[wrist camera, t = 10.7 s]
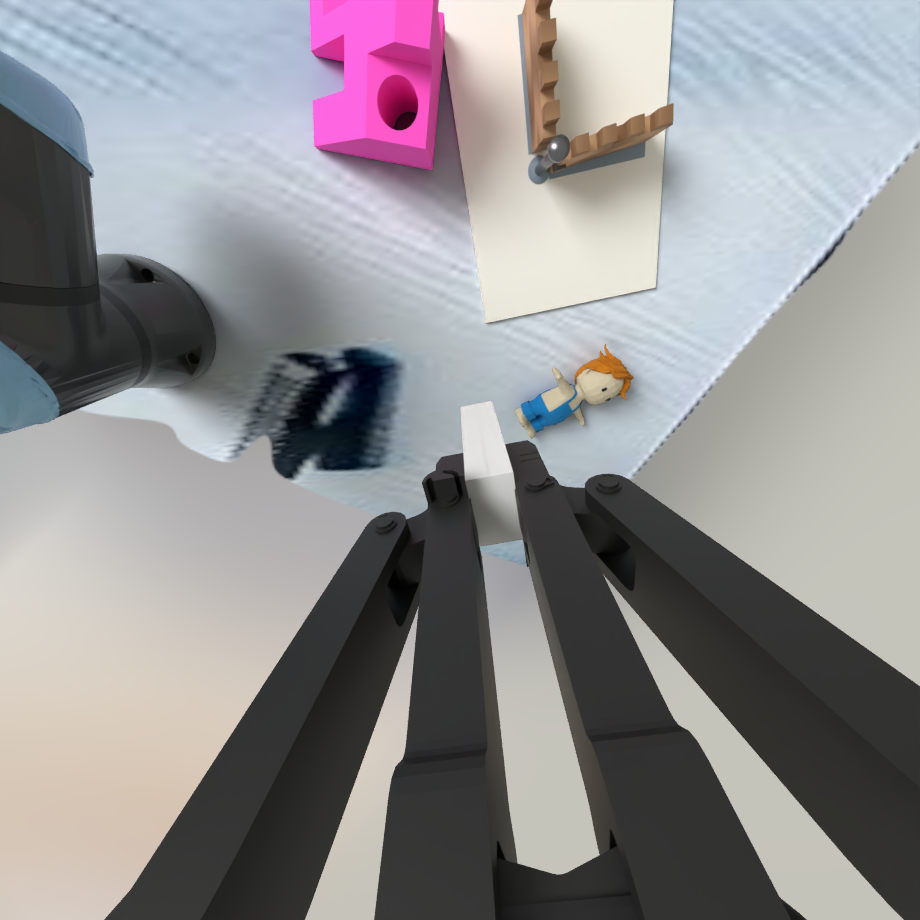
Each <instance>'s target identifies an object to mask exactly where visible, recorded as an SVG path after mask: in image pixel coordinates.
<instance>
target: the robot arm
mask: <svg viewBox="0 0 920 920" xmlns="http://www.w3.org/2000/svg"><path fill="white" fill-rule="evenodd" d="M90 177H91V178H92V177H94V171H93V169H92V167H91V165H90V163H89V160H88V153H87V145H86V138H85V131H84V125H83V121H82V119H81V116H80V114H79V112H78V111H77V109H76V108H75V106H74V105H73V104H72V102H71V101H70V100H69V98H68V97H67V96H66V95H65V94H63V93H62V91H60V90H59V89H58V88H57V87H56V86H55V85H53V84H52V83H51V82H49V81H48V80H47V79H45V78H44V77H42V76H41V75H39V74H38V73H36V72H35V71H33V70H32V69H30V68H28V67H27V66H25V65H23V64H22V63H20V62H19V61H17V60H15V59H14V58H12V57H10V56H9V55H7V54H5V53H4V52H2V51H0V434H4V433H8V432H12V431H15V430H18V429H21V428H25V427H28V426H31V425H35V424H43V423H47V422H50V421H51V420H54V418H57V417H59V416H62V415H64V414H67V413H69V412H72V411H74V410H77V409H79V408H82V407H84V406H87V405H89V404H92V403H94V402H97V401H99V400H102V399H104V398H107V397H109V396H112V395H114V394H117V393H119V392H121V391H124V390H126V389H129V388H169V387H175V386H179V385H182V384H185V383H187V382H189V381H191V380H194V379H196V378H198V377H199V376H201V375H202V374H203V373H204V372H205V371H206V370H207V369H208V367H209V366H210V364H211V362H212V360H213V357H214V353H215V333H214V328H213V325H212V322H211V319H210V316H209V314H208V312H207V310H206V308H205V306H204V305H203V303H202V302H201V300H200V299H199V297H198V296H197V295H196V293H195V292H194V291H193V290H192V289H191V287H190V286H189V285H188V284H187V283H186V282H185V281H184V280H182V279H181V278H180V277H179V276H178V275H176V274H175V273H174V272H172V271H171V270H169V269H168V268H166V267H165V266H163V265H161V264H159V263H157V262H155V261H153V260H150V259H147V258H144V257H141V256H136V255H129V254H102V255H97V253H96V242H95V230H94V219H93V208H92V197H91V185H90ZM460 409H461V425H462V440H463V453H461V454H456V455H450V456H445V457H441V459H440V460H439V461H438V463H437V464H436V471H434V472H432V473H430V474H428V475H427V476H426V477H425V478H424V480H423V482H422V485H423V488H424V492H425V495H426V498H427V502H428V509H427V510H426V511H424V512H423V513H421V514H419V515H417V516H415V517H412V518H410V519H407V520H406V517H405V515H403V514H401V513H398V512H389V513H385V514H382V515H379V516H377V517H376V518H374V519H373V520H371V521H370V522H369V524H368V525H367V526H366V527H365V529H364V531H363V532H362V534H361V535H360V537H359V538H358V540H357V541H356V543H355V544H354V546H353V547H352V549H351V551H350V552H349V554H348V555H347V557H346V558H345V560H344V562H343V563H342V564H341V566H340V568H339V569H338V571H337V572H336V574H335V575H334V577H333V579H332V580H331V582H330V583H329V585H328V586H327V588H326V589H325V591H324V592H323V594H322V595H321V597H320V599H319V600H318V601H317V603H316V605H315V606H314V608H313V609H312V611H311V612H310V614H309V615H308V617H307V619H306V620H305V622H304V623H303V625H302V626H301V628H300V629H299V631H298V632H297V634H296V635H295V637H294V638H293V640H292V642H291V643H290V645H289V646H288V648H287V650H286V651H285V652H284V654H283V656H282V657H281V659H280V660H279V662H278V663H277V665H276V666H275V668H274V669H273V671H272V673H271V674H270V676H269V677H268V679H267V680H266V682H265V683H264V685H263V686H262V688H261V689H260V691H259V693H258V694H257V696H256V697H255V699H254V700H253V702H252V703H251V705H250V706H249V708H248V710H247V711H246V713H245V714H244V716H243V717H242V719H241V720H240V722H239V723H238V725H237V727H236V728H235V730H234V731H233V733H232V734H231V736H230V737H229V739H228V740H227V742H226V743H225V745H224V747H223V748H222V750H221V751H220V753H219V754H218V756H217V758H216V759H215V760H214V762H213V763H212V765H211V767H210V768H209V770H208V771H207V773H206V774H205V776H204V777H203V779H202V781H201V782H200V784H199V785H198V787H197V788H196V790H195V791H194V793H193V794H192V796H191V798H190V799H189V801H188V802H187V804H186V805H185V807H184V808H183V810H182V811H181V813H180V814H179V816H178V817H177V819H176V821H175V822H174V824H173V825H172V827H171V828H170V830H169V831H168V833H167V834H166V836H165V838H164V839H163V841H162V842H161V844H160V845H159V847H158V848H157V850H156V851H155V853H154V855H153V856H152V858H151V859H150V861H149V862H148V864H147V866H146V867H145V868H144V870H143V872H142V873H141V875H140V876H139V878H138V879H137V881H136V882H135V884H134V885H133V887H132V888H131V890H130V891H129V892H128V893H127V895H126V896H125V897H124V898H123V899H122V900H121V902H120V903H119V904H118V905H117V906H116V907H115V908H114V909H113V910H112V912H111V913H110V914H109V915H108V916H107V917H106V919H105V920H305V918H306V915H307V912H308V910H309V908H310V905H311V902H312V899H313V897H314V893H315V891H316V888H317V885H318V883H319V880H320V877H321V874H322V872H323V869H324V866H325V863H326V861H327V858H328V855H329V852H330V850H331V847H332V844H333V841H334V838H335V836H336V833H337V830H338V827H339V824H340V822H341V819H342V816H343V813H344V811H345V808H346V805H347V802H348V799H349V797H350V794H351V791H352V788H353V786H354V783H355V780H356V778H357V775H358V772H359V769H360V766H361V764H362V761H363V758H364V755H365V753H366V750H367V747H368V744H369V742H370V739H371V736H372V733H373V731H374V728H375V725H376V722H377V719H378V717H379V714H380V711H381V708H382V706H383V703H384V700H385V697H386V695H387V692H388V689H389V686H390V683H391V680H392V678H393V675H394V672H395V670H396V666H397V664H398V661H399V658H400V656H401V653H402V650H403V647H404V644H405V642H406V639H407V636H408V634H409V631H410V628H411V625H412V623H413V620H414V617H415V614H416V611H417V609H418V606H419V610H418V620H417V632H416V642H415V653H414V664H413V675H412V685H411V696H410V707H409V719H408V730H407V740H406V748H405V754H404V757H403V759H402V760H401V762H400V763H398V765H397V766H396V767H395V770H394V773H393V776H392V779H391V785H390V791H389V797H388V806H387V815H386V823H385V832H384V841H383V849H382V858H381V866H380V875H379V884H378V892H377V901H376V909H375V919H374V920H806V919H805V918H804V917H803V916H802V915H801V914H800V913H798V912H797V911H796V910H795V909H793V908H792V907H791V906H790V905H788V904H787V903H786V902H785V901H783V900H782V899H781V898H780V897H779V896H778V894H777V892H776V890H775V888H774V886H773V884H772V882H771V880H770V878H769V876H768V875H767V872H766V871H765V869H764V867H763V865H762V863H761V861H760V859H759V857H758V855H757V853H756V851H755V849H754V847H753V845H752V843H751V841H750V840H749V838H748V836H747V834H746V832H745V830H744V828H743V826H742V824H741V822H740V820H739V818H738V816H737V814H736V812H735V811H734V809H733V807H732V805H731V803H730V801H729V799H728V797H727V795H726V793H725V791H724V789H723V788H722V785H721V783H720V781H719V780H718V778H717V776H716V774H715V772H714V770H713V768H712V766H711V764H710V762H709V760H708V759H707V757H706V755H705V753H704V752H703V750H702V748H701V747H700V745H699V743H698V742H697V740H696V739H695V738H694V737H693V735H692V734H691V733H690V732H689V731H688V730H686V729H684V728H683V727H681V726H679V725H678V724H677V722H676V721H675V720H674V719H673V716H672V715H671V713H670V711H669V709H668V707H667V705H666V703H665V701H664V699H663V697H662V695H661V693H660V691H659V689H658V686H657V685H656V682H655V680H654V678H653V676H652V674H651V672H650V670H649V668H648V666H647V664H646V662H645V660H644V658H643V656H642V654H641V652H640V650H639V647H638V645H637V643H636V641H635V639H634V637H633V635H632V633H631V631H630V629H629V627H628V625H627V623H626V621H625V619H624V617H623V615H622V613H621V611H620V608H619V606H618V604H617V602H616V600H615V598H614V596H613V594H612V592H611V590H610V588H609V586H608V584H607V582H606V580H605V578H604V576H605V577H606V578H607V579H608V580H609V581H610V583H611V584H612V585H613V586H614V587H615V588H616V590H617V591H618V592H619V593H620V594H621V595H622V596H623V598H624V599H625V600H626V601H627V602H628V604H629V605H630V606H631V607H632V608H633V609H634V611H635V612H636V613H637V614H638V615H639V616H640V618H641V619H642V620H643V621H644V622H645V623H646V624H647V626H648V627H649V628H650V629H651V630H652V632H653V633H654V634H655V635H656V636H657V637H658V638H659V640H660V641H661V642H662V643H663V644H664V645H665V647H666V648H667V649H668V650H669V651H670V653H672V655H673V656H674V657H675V658H676V660H677V661H678V662H679V663H680V664H681V665H682V667H683V668H684V669H685V670H686V671H687V672H688V674H689V675H690V676H691V677H692V678H693V679H694V681H695V682H696V683H697V684H698V685H699V686H700V688H701V689H702V690H703V691H704V692H705V693H706V695H707V696H708V697H709V698H710V699H711V700H712V702H713V703H714V704H715V705H716V706H717V707H718V708H719V710H720V711H721V712H722V713H723V714H724V716H725V717H726V718H727V719H728V720H729V721H730V722H731V724H732V725H733V726H734V727H735V728H736V730H737V731H738V732H739V733H740V734H741V735H742V737H743V738H744V739H745V740H746V741H747V742H748V743H749V745H750V746H751V747H752V748H753V749H754V751H755V752H756V753H757V754H758V755H759V756H760V758H761V759H762V760H763V761H764V762H765V763H766V764H767V766H768V767H769V768H770V769H771V770H772V772H773V773H774V774H775V775H776V776H777V777H778V779H779V780H780V781H781V782H782V783H783V784H784V786H786V788H787V789H788V790H789V791H790V793H791V794H792V795H793V796H794V797H795V798H796V800H797V801H798V802H799V803H800V804H801V805H802V807H803V808H804V809H805V810H806V811H807V812H808V813H809V815H810V816H811V817H812V818H813V820H814V821H815V822H816V823H817V824H818V825H819V827H820V828H821V829H822V830H823V831H824V832H825V833H826V835H827V836H828V837H829V838H830V839H831V841H832V842H833V843H834V844H835V845H836V846H837V847H838V849H839V850H840V851H841V852H842V853H843V855H844V856H845V857H846V858H847V859H848V860H849V861H850V862H851V863H852V865H853V866H854V867H855V868H856V869H857V870H858V871H859V872H860V873H861V874H862V876H863V877H864V878H865V879H866V880H867V881H868V882H869V883H870V884H871V885H872V887H873V888H874V889H875V890H876V891H877V892H878V893H879V894H880V895H881V896H882V898H883V899H884V900H885V901H886V902H887V903H888V904H889V905H890V906H891V907H892V908H893V909H894V910H895V911H896V912H897V913H898V914H899V915H900V916H901V917H902V918H903V919H904V920H920V686H918V685H917V684H916V683H914V682H913V681H911V680H910V679H909V678H907V677H906V676H905V675H903V674H902V673H900V672H898V671H897V670H896V669H895V668H893V667H892V666H890V665H889V664H887V663H886V662H885V661H883V660H882V659H881V658H879V657H878V656H876V655H875V654H873V653H872V652H871V651H869V650H868V649H867V648H865V647H864V646H862V645H861V644H859V643H858V642H857V641H855V640H854V639H852V638H851V637H849V636H848V635H847V634H845V633H844V632H843V631H841V630H840V629H838V628H837V627H835V626H834V625H833V624H831V623H830V622H829V621H827V620H826V619H824V618H823V617H821V616H820V615H819V614H817V613H816V612H814V611H813V610H812V609H810V608H809V607H807V606H806V605H805V604H803V603H802V602H800V601H799V600H797V599H796V598H795V597H793V596H792V595H790V594H789V593H788V592H786V591H785V590H783V589H782V588H780V587H779V586H778V585H776V584H775V583H774V582H772V581H771V580H769V579H768V578H767V577H765V576H764V575H762V574H761V573H759V572H758V571H757V570H755V569H754V568H752V567H751V566H750V565H748V564H747V563H745V562H744V561H743V560H741V559H740V558H738V557H737V556H736V555H734V554H733V553H731V552H730V551H728V550H727V549H726V548H724V547H723V546H721V545H720V544H719V543H717V542H716V541H714V540H713V539H712V538H710V537H709V536H707V535H706V534H705V533H703V532H702V531H700V530H699V529H697V528H696V527H695V526H693V525H692V524H690V523H689V522H688V521H686V520H685V519H683V518H682V517H681V516H679V515H678V514H676V513H675V512H674V511H672V510H671V509H669V508H668V507H667V506H665V505H664V504H662V503H661V502H659V501H658V500H657V499H655V498H654V497H653V496H651V495H650V494H648V493H647V492H645V491H644V490H643V489H641V488H640V487H638V486H637V485H636V484H634V483H633V482H631V481H630V480H629V479H627V478H625V477H623V476H619V475H615V474H601V475H596V476H594V477H592V478H590V479H588V481H587V482H586V483H585V488H573V487H565V486H561V485H559V483H558V481H557V480H556V479H555V478H554V477H552V476H550V475H549V473H548V471H547V469H546V467H545V465H544V463H543V461H542V459H541V456H540V454H539V453H538V450H537V448H536V446H535V445H534V444H533V443H531V442H529V441H528V440H527V441H521V442H516V443H510V444H505V443H504V440H503V436H502V433H501V430H500V426H499V423H498V420H497V416H496V413H495V410H494V406H493V403H492V401H488V402H483V403H477V404H472V405H467V406H462V407H460ZM522 536H523V537H522ZM522 539H523V542H524V549H525V556H526V562H527V567H529V569H530V573H531V576H532V581H533V585H534V588H535V592H536V596H537V600H538V604H539V608H540V612H541V616H542V620H543V624H544V628H545V632H546V636H547V640H548V644H549V647H550V652H551V656H552V659H553V663H554V667H555V671H556V675H557V679H558V683H559V687H560V691H561V695H562V699H563V703H564V706H565V711H566V714H567V719H568V722H569V726H570V730H571V734H572V738H573V742H574V746H575V750H576V754H577V758H578V762H579V766H580V770H581V773H582V777H583V781H584V785H585V789H586V793H587V797H588V802H589V806H590V811H591V815H592V821H593V826H594V831H595V836H596V841H597V845H598V849H599V854H600V855H599V856H598V857H596V858H594V859H592V860H590V861H588V862H586V863H584V864H583V865H581V866H579V867H577V868H575V869H573V870H571V871H569V872H568V873H565V874H562V875H556V874H551V873H548V872H545V871H541V870H537V869H534V868H531V867H527V866H524V865H520V864H517V857H516V849H515V842H514V836H513V831H512V824H511V818H510V812H509V803H508V795H507V785H506V777H505V767H504V757H503V748H502V739H501V730H500V721H499V711H498V702H497V693H496V684H495V675H494V666H493V656H492V647H491V638H490V629H489V619H488V610H487V601H486V592H485V582H484V573H483V564H482V556H481V551H480V547H479V545H480V546H485V545H492V544H498V543H504V542H510V541H516V540H522ZM602 573H603V574H604V576H603V574H602Z"/></svg>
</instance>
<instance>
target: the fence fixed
mask: <svg viewBox="0 0 920 920" xmlns="http://www.w3.org/2000/svg"><path fill="white" fill-rule="evenodd" d="M552 1H553V0H526V1H525V5H524V8H523V12H522V21H523V34H524V47H525V61H526V74H527V87H528V100H529V113H530V127H531V140H532V153H536V152H540V151H544V150H545V149H546V148H547V146H548V145H549V144H550V142H551V141H552V139H553V138H554V137H555V136H556V123H557V122H558V120H559V119H560V99H558V100H555V99H554V87H555V85H556V84H557V82H558V80H559V73H558V60H555V61H553V59H552V49H553V46H554V44H555V42H556V40H557V29H556V18H552V19H550V7H551V4H552Z"/></svg>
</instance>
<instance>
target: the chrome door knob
mask: <svg viewBox="0 0 920 920" xmlns="http://www.w3.org/2000/svg"><path fill="white" fill-rule="evenodd" d="M569 151H570V141H569V139H568V138H567V136H565V135H563V134H559V135H557V136H555V137H554V138H553V139H552V141H551V142H550V144H549V146H548V153H547V154H546V155H545V156H544V158H543V159H542V160H541V161H540V162H539V163H538V165H537V166H536V167H535V174H536V175H537V176H541V175H542V174H543V173H544V172H545V171H546V170H547V169H548V168H549V167H550V166H551V165H552V164H553V163H560V162H562V161H563V160H564V159H565V158H566V157H567V156H568V154H569Z"/></svg>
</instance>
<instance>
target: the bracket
mask: <svg viewBox="0 0 920 920" xmlns="http://www.w3.org/2000/svg"><path fill="white" fill-rule="evenodd" d="M438 6H439V0H310V27H311V51H312V53H313V54H314V55H315V56H318V57H323V58H328V59H333V60H338V61H343V62H344V91H341V92H338V93H335V94H332V95H329V96H326V97H323V98H320V99H317V100H314V101H313V119H314V146H315V147H316V148H317V149H322V150H327V151H332V152H338V153H343V154H348V155H353V156H359V157H364V158H369V159H375V160H380V161H385V162H391V163H396V164H401V165H406V166H412V167H417V168H422V169H428V170H433V160H434V149H435V139H436V128H437V117H438V106H439V95H440V84H441V73H442V62H443V51H444V40H445V20H444V13H442V12H438ZM405 112H414V113H416V114H417V116H416V119H415V121H414V122H413V124H412V125H411V126H410V127H408V128H407V129H405V130H394V125H395V122H396V120H397V118H398V117H399V116H400V115H401V114H402V113H405Z"/></svg>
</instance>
